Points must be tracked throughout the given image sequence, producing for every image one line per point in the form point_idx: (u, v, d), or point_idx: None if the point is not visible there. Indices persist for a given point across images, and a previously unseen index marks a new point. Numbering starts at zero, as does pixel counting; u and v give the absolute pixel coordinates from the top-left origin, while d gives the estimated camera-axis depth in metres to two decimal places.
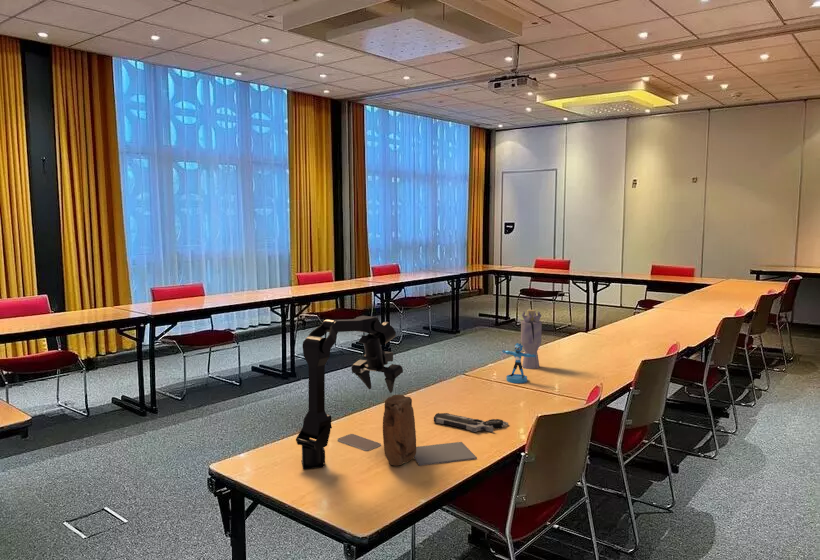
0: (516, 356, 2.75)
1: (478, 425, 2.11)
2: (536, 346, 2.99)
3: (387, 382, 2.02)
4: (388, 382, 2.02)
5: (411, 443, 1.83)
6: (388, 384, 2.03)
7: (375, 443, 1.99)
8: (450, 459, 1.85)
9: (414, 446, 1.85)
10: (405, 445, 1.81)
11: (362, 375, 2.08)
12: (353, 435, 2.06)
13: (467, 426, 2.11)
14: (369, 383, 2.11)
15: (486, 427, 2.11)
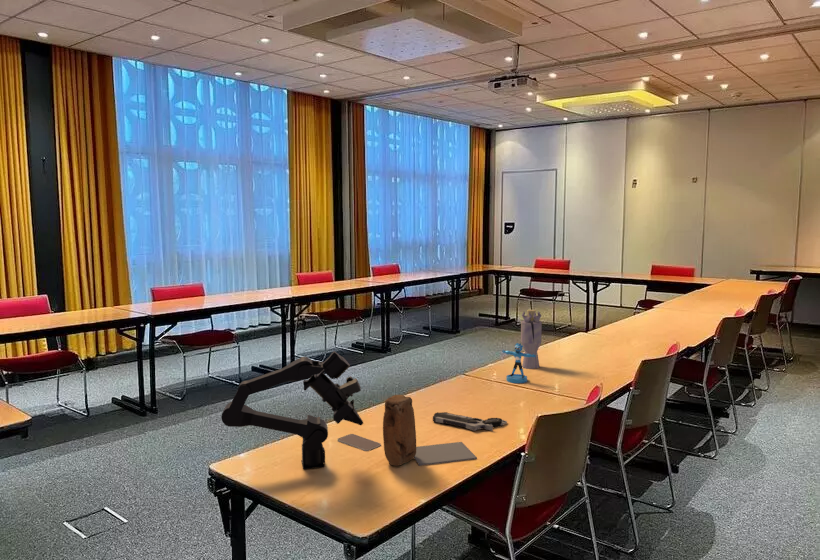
0: (516, 356, 2.75)
1: (477, 424, 2.13)
2: (536, 346, 2.99)
3: None
4: None
5: (411, 443, 1.83)
6: None
7: (375, 443, 1.99)
8: (450, 459, 1.85)
9: (414, 446, 1.85)
10: (405, 445, 1.81)
11: None
12: (353, 435, 2.06)
13: (467, 425, 2.12)
14: None
15: (485, 426, 2.12)
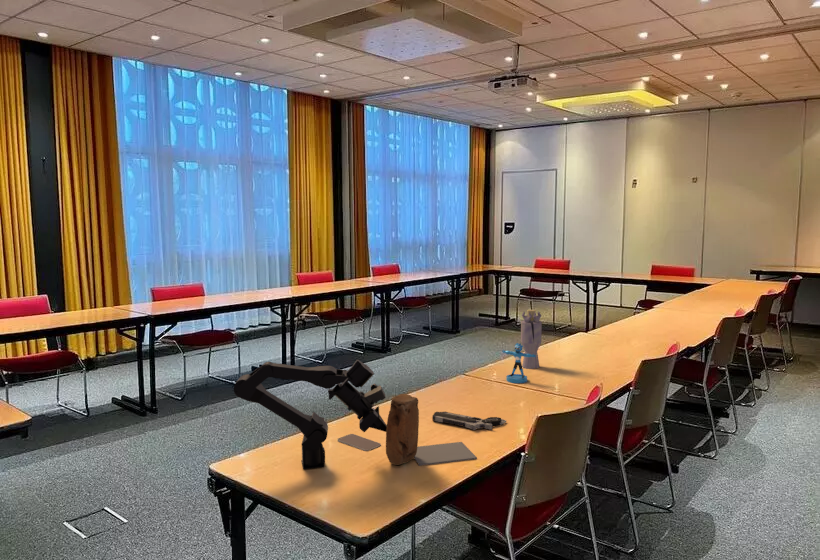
0: (516, 356, 2.75)
1: (477, 423, 2.14)
2: (536, 346, 2.99)
3: None
4: None
5: (413, 443, 1.83)
6: None
7: (375, 443, 1.99)
8: (450, 459, 1.85)
9: (415, 446, 1.85)
10: (407, 445, 1.80)
11: None
12: (353, 435, 2.06)
13: (466, 424, 2.13)
14: None
15: (485, 425, 2.13)
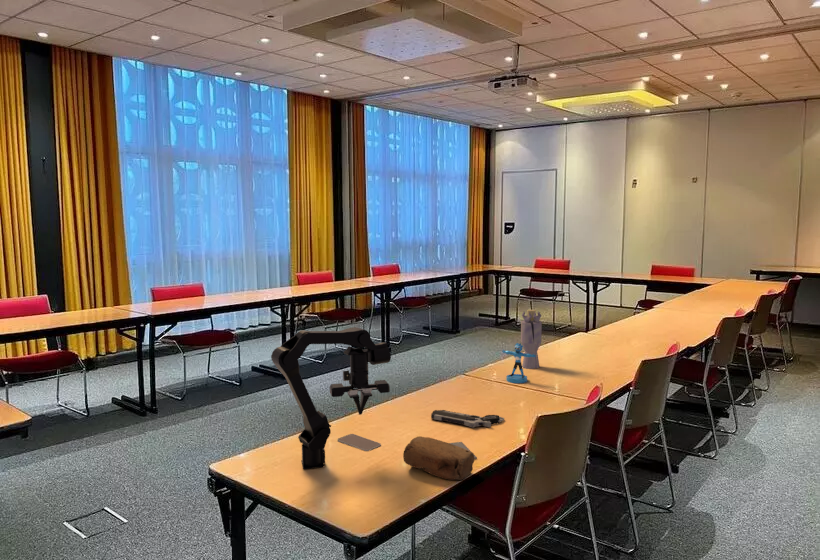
0: (516, 356, 2.75)
1: (476, 421, 2.16)
2: (536, 346, 2.99)
3: (365, 400, 1.88)
4: (366, 399, 1.88)
5: None
6: (365, 402, 1.88)
7: (375, 443, 1.99)
8: None
9: None
10: None
11: (358, 397, 1.88)
12: (353, 435, 2.06)
13: (465, 422, 2.16)
14: None
15: (484, 422, 2.15)
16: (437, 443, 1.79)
